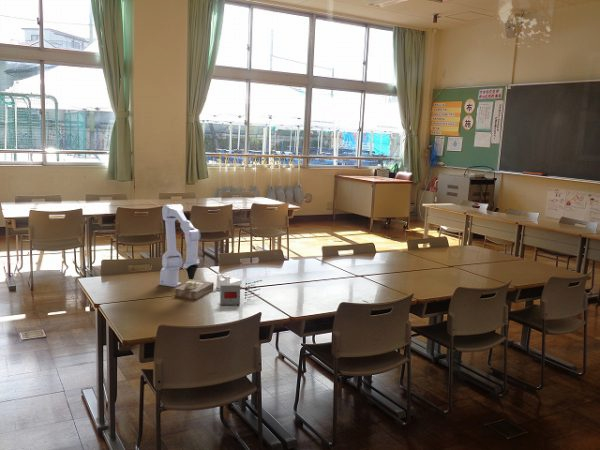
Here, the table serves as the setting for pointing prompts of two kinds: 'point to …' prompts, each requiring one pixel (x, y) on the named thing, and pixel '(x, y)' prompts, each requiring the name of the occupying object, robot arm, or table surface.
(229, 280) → the bracket
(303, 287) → the table surface
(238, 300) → the voltmeter
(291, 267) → the table surface
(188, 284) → the peg
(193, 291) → the band block
